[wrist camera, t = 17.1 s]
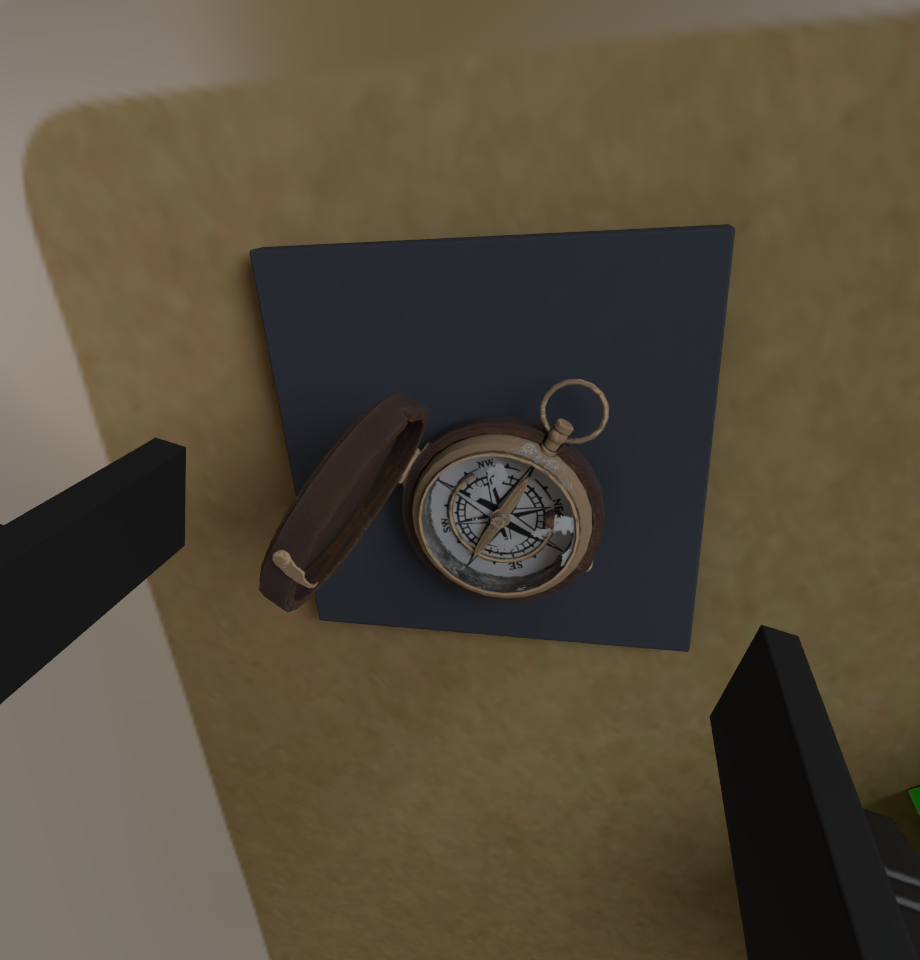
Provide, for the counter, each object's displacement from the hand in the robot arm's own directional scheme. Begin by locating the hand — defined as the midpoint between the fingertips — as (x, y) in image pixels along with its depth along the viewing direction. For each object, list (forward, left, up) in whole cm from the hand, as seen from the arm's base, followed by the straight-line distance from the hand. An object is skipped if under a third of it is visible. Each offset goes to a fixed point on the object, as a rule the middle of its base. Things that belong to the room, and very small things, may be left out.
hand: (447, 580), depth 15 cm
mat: (0, 0, -7) cm, 7 cm away
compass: (0, 0, -6) cm, 6 cm away
